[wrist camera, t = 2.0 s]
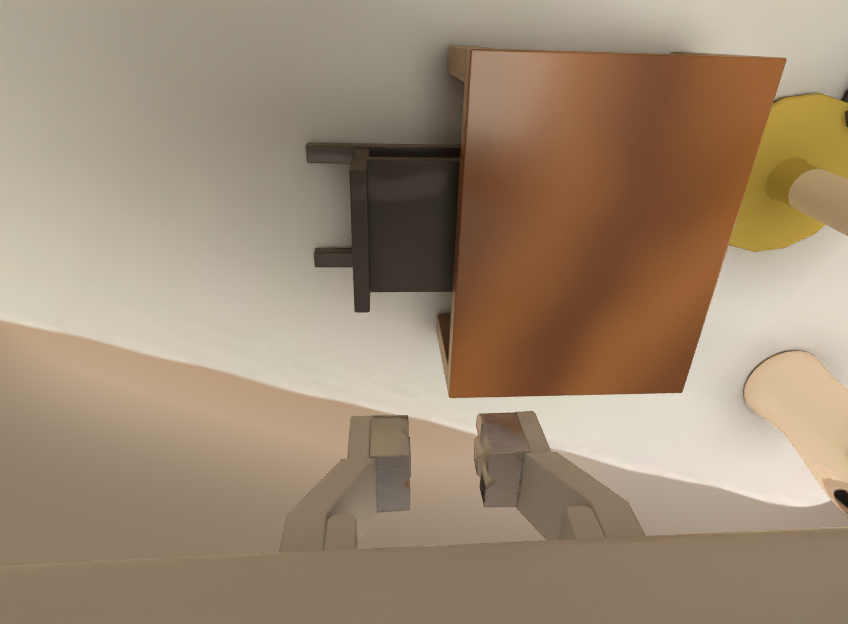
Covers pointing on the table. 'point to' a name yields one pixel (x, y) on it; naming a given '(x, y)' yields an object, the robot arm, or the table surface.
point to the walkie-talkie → (847, 113)
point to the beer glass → (806, 415)
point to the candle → (796, 175)
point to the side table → (594, 214)
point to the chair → (396, 216)
